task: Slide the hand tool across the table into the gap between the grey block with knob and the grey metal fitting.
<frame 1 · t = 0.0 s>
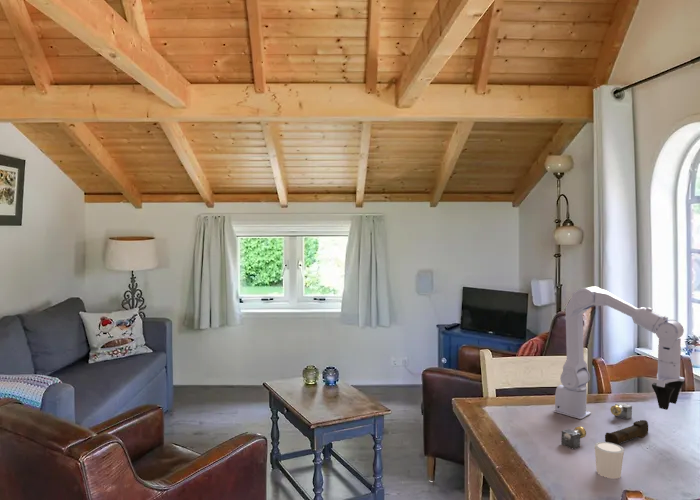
hand: (667, 405, 155), 10 cm above the table, tool pointing down, fingers open, 7 cm apart
grey metal fitting: (573, 444, 151), on the table
hand tool: (627, 440, 155), on the table
grey block with knob: (620, 417, 172), on the table
cream cylinder: (608, 474, 133), on the table
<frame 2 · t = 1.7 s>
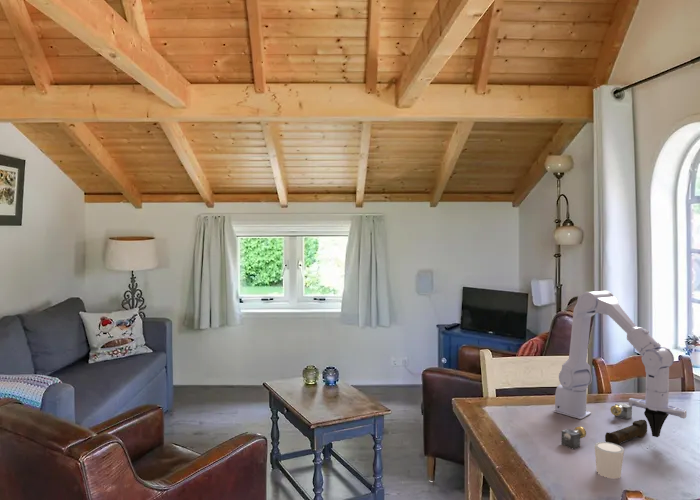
hand: (655, 435, 150), 3 cm above the table, tool pointing down, fingers closed
nothing on the table moved.
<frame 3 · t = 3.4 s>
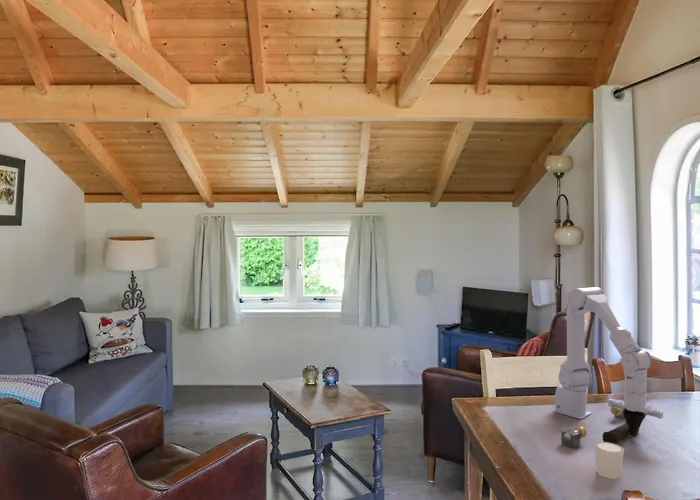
hand: (634, 435, 154), 1 cm above the table, tool pointing down, fingers closed
hand tool: (622, 437, 156), on the table
everything else where it was.
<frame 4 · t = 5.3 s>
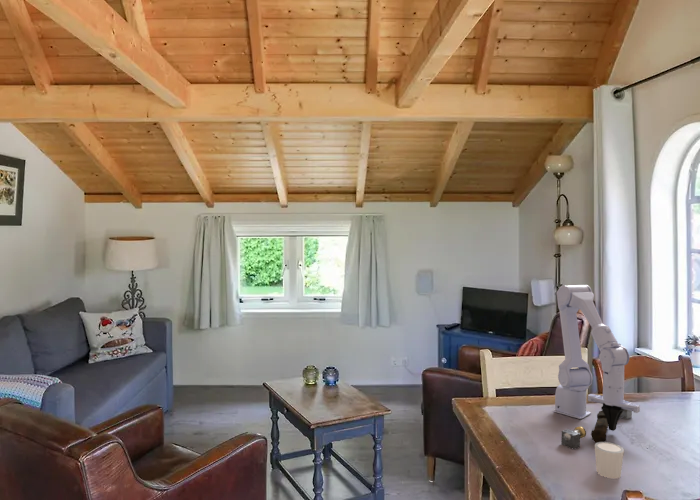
hand: (612, 429, 159), 1 cm above the table, tool pointing down, fingers closed
hand tool: (601, 433, 159), on the table
everything else where it was.
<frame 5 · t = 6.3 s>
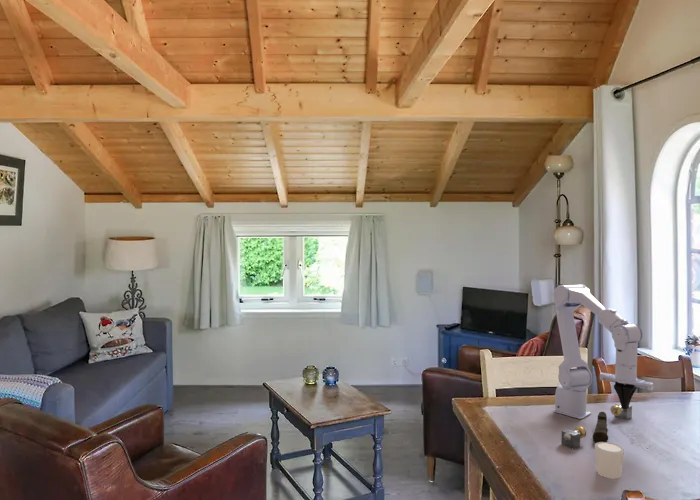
hand: (624, 408, 156), 9 cm above the table, tool pointing down, fingers closed
nothing on the table moved.
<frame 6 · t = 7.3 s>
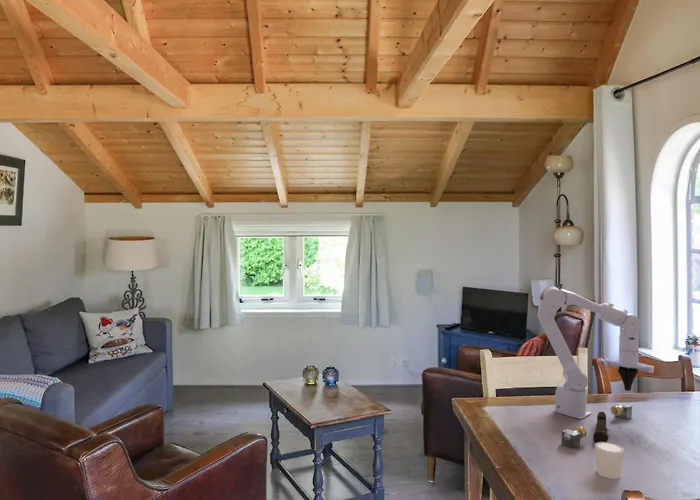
hand: (627, 389, 172), 9 cm above the table, tool pointing down, fingers closed
nothing on the table moved.
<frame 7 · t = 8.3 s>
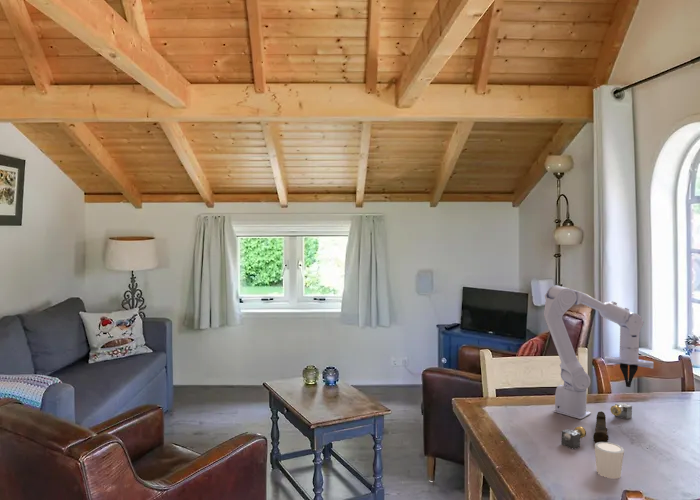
hand: (628, 386, 176), 9 cm above the table, tool pointing down, fingers closed
nothing on the table moved.
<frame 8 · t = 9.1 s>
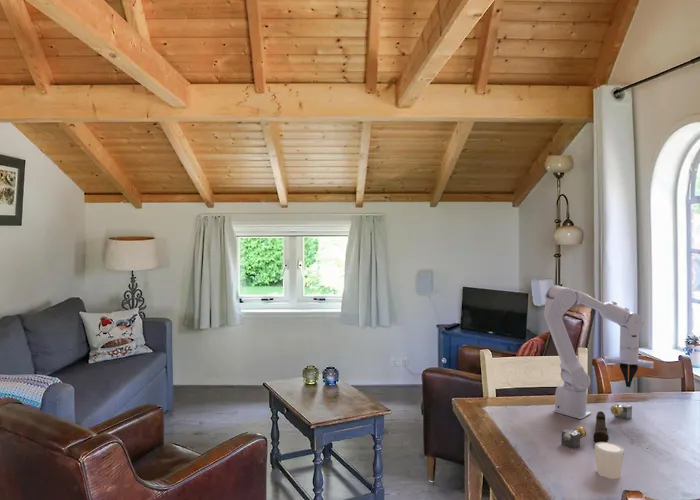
hand: (628, 386, 176), 9 cm above the table, tool pointing down, fingers closed
nothing on the table moved.
at the end: hand tool 2.2 cm from the target spot, on the table; hand tool moved 7.9 cm from its start; the gripper is holding nothing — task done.
